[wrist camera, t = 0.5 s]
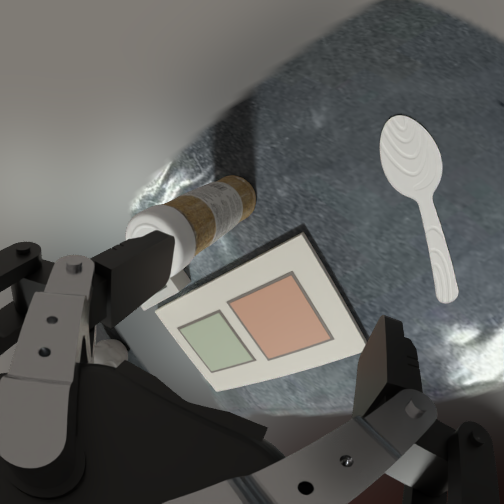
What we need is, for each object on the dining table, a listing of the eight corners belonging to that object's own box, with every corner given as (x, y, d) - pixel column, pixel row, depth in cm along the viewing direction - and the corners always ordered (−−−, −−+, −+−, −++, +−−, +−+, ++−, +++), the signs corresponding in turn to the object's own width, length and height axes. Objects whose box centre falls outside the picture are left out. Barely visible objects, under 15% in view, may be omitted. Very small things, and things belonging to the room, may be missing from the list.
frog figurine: (135, 369, 49) (109, 395, 43) (104, 342, 49) (77, 365, 43) (144, 352, 46) (117, 380, 40) (111, 322, 46) (81, 347, 40)
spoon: (424, 307, 28) (424, 310, 28) (365, 126, 25) (365, 126, 24) (472, 293, 26) (473, 296, 26) (422, 106, 22) (422, 106, 22)
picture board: (303, 231, 30) (301, 234, 29) (368, 345, 32) (368, 350, 31) (158, 308, 41) (154, 311, 40) (218, 387, 43) (216, 392, 42)
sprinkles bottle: (209, 209, 33) (119, 262, 21) (220, 167, 30) (126, 201, 19) (250, 227, 32) (174, 293, 20) (264, 184, 30) (187, 230, 18)
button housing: (157, 229, 36) (143, 237, 34) (191, 281, 37) (179, 291, 35) (125, 255, 39) (112, 263, 37) (155, 300, 40) (144, 310, 38)
